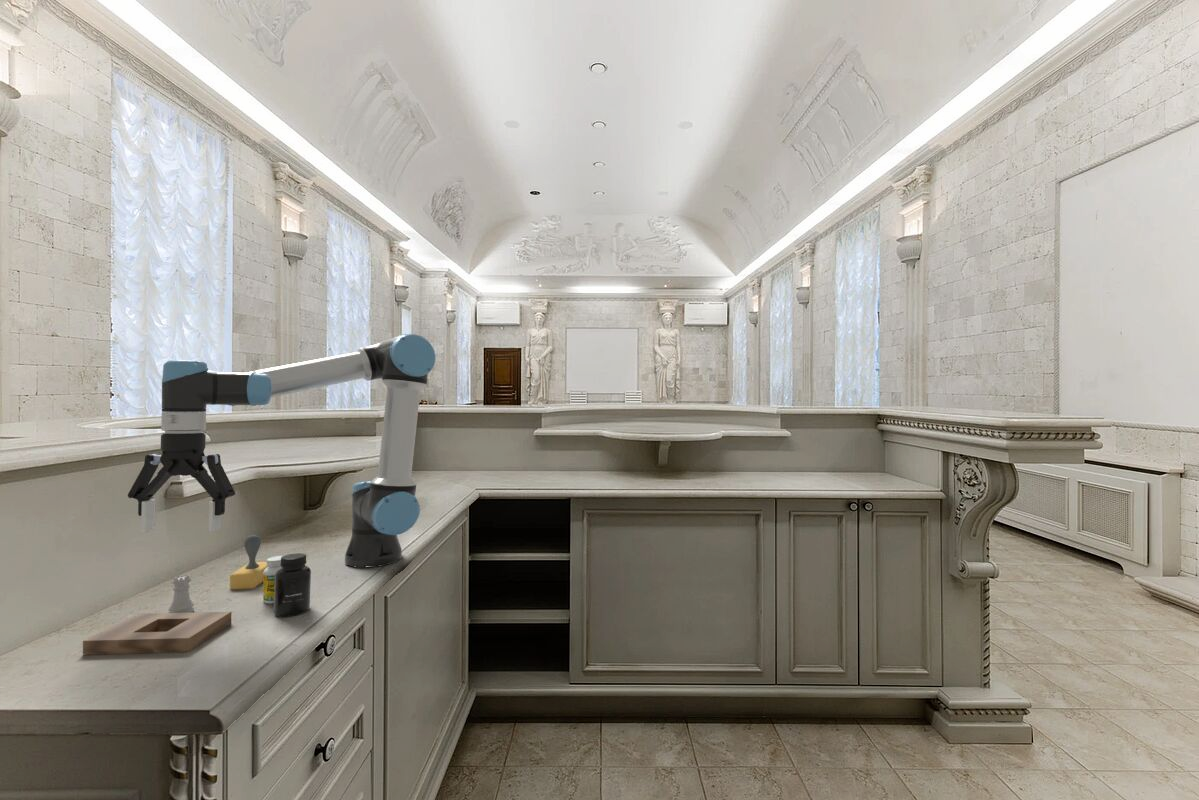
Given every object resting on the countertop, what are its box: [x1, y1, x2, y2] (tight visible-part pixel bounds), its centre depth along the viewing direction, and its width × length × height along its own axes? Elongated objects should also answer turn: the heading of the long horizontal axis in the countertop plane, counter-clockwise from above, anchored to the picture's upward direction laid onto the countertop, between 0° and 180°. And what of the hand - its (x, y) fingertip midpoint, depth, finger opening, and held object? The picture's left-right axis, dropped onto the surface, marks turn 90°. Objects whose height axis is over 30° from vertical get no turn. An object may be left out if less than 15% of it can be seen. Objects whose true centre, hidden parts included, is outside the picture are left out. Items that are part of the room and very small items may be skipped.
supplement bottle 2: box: [273, 552, 312, 618], centre depth 112 cm, size 7×7×12 cm
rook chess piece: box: [168, 574, 195, 613], centre depth 110 cm, size 4×4×8 cm
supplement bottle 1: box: [262, 555, 283, 605], centre depth 118 cm, size 5×5×10 cm
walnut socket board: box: [82, 611, 232, 655], centre depth 98 cm, size 18×12×2 cm, turn 94°
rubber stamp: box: [229, 534, 268, 590], centre depth 130 cm, size 10×6×12 cm, turn 11°
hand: (181, 530), depth 110 cm, fingers open, 13 cm apart
